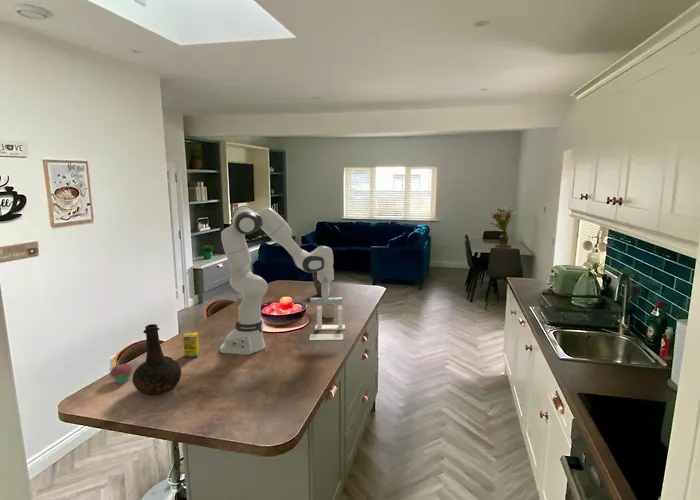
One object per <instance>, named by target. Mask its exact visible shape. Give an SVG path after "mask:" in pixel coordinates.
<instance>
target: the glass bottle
mask: <svg viewBox="0 0 700 500" xmlns="http://www.w3.org/2000/svg"><path fill="white" fill-rule="evenodd" d="M159 330H160V328H159V327H158V324H157V323H156V324H155V323H151V324H148V325H145V327H144V330H143V334H145V339H146V357H145V361H144V362H142V363H141V364H140V365H138V366H137V367H136V368H135V370H134V371H133V373H132V384H133V386H134V388H135V389H136V390H137V391H139V392H140V393H141V394H144V395H146V396H159V395H162V394H165V393H168V392H170V391H171V390H173V389H174V388H175V387H176V386H177V385H178V383H179V381H180V379H181V376H182V368H181V366H180V364H179V363H178V362H177V360H174V359H173V358H172V357H170V356H166V355H164V353H163V350H162V346H161V342H160V337H159Z"/></svg>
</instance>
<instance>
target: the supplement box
mask: <svg viewBox="0 0 700 500" xmlns="http://www.w3.org/2000/svg"><path fill="white" fill-rule="evenodd" d="M199 339H200V338H199V332H197V331H196V332H185V334H184V335H183V337H182V340H183V342H182V343H183V351H184V352H183V354H184V358H185V359H191V358H198V357H199V354H200V340H199Z"/></svg>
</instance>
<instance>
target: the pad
mask: <svg viewBox="0 0 700 500" xmlns="http://www.w3.org/2000/svg"><path fill="white" fill-rule="evenodd" d="M309 341H344V334H343V333H310V336H309Z"/></svg>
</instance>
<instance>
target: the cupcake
mask: <svg viewBox="0 0 700 500" xmlns="http://www.w3.org/2000/svg"><path fill="white" fill-rule="evenodd" d="M114 361H115V364H116V365H115V366H114V367H113V368H112V369H111V370H110V371H109V373H110V374H109V375H110V377H112V378H113V379H114V381H115V382H116V383H117V384H120V385H121V384H125V383H127V382H128V381H129V380H130V376H131V374H133V373H134V369H133V366H132V365H130V364H128V363H122V364H119V362H118V359H117V357H114Z"/></svg>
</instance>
